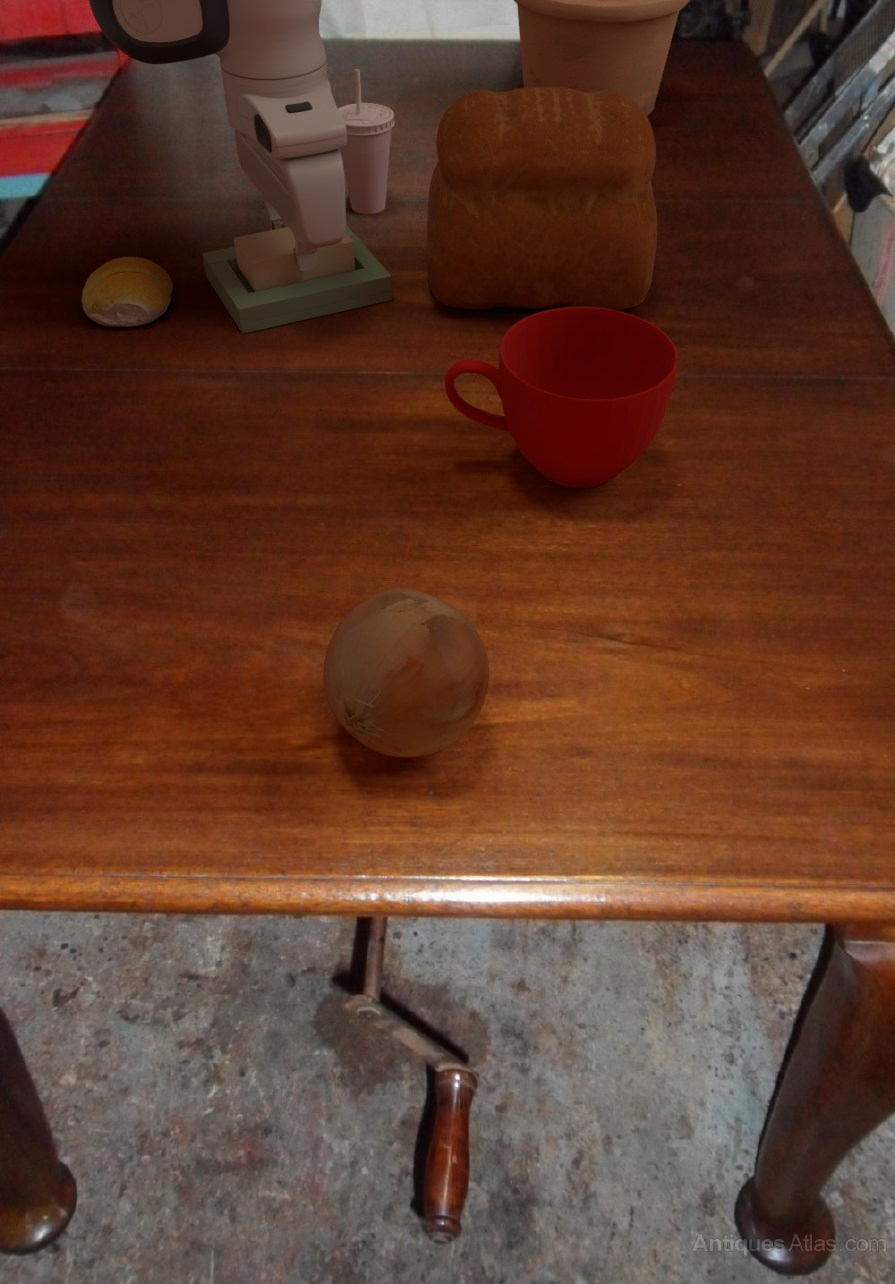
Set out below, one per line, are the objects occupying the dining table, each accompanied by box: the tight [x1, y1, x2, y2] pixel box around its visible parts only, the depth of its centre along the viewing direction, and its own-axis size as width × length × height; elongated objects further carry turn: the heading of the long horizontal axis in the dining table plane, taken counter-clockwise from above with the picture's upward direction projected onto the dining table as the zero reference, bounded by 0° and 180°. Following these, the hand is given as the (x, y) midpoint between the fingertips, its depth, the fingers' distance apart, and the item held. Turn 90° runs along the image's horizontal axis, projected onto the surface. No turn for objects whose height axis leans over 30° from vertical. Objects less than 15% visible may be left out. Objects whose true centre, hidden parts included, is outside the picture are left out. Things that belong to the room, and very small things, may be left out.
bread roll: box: [81, 256, 174, 328], centre depth 100 cm, size 8×9×4 cm
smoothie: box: [338, 68, 396, 215], centre depth 111 cm, size 6×6×14 cm
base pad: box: [202, 224, 393, 335], centre depth 103 cm, size 15×12×2 cm
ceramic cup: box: [444, 306, 679, 489], centre depth 81 cm, size 13×17×10 cm
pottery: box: [513, 0, 691, 117], centre depth 132 cm, size 22×22×14 cm
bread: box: [426, 87, 658, 311], centre depth 99 cm, size 18×22×17 cm
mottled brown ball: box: [322, 587, 490, 758], centre depth 62 cm, size 10×10×10 cm
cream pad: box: [233, 227, 355, 292], centre depth 101 cm, size 10×6×3 cm, turn 115°
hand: (294, 252), depth 101 cm, fingers closed on cream pad, 5 cm apart
